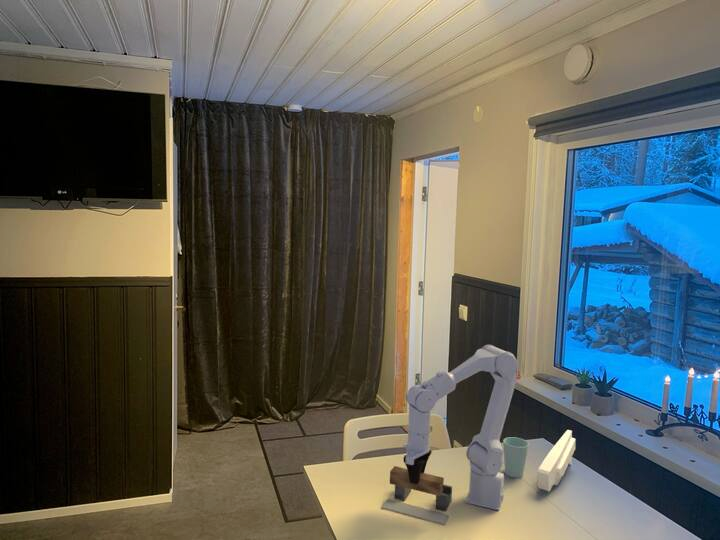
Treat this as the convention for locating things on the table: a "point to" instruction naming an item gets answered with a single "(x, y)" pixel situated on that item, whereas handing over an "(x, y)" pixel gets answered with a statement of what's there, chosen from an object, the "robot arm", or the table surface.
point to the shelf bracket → (556, 462)
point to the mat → (416, 511)
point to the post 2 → (444, 498)
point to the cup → (515, 456)
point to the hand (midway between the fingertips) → (416, 479)
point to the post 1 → (401, 493)
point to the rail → (425, 483)
